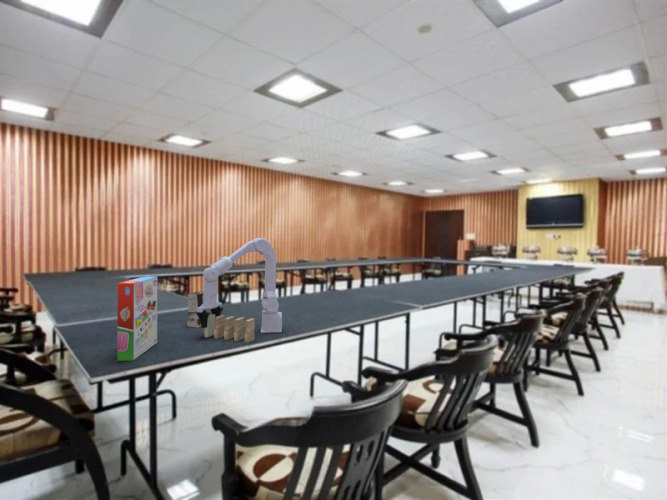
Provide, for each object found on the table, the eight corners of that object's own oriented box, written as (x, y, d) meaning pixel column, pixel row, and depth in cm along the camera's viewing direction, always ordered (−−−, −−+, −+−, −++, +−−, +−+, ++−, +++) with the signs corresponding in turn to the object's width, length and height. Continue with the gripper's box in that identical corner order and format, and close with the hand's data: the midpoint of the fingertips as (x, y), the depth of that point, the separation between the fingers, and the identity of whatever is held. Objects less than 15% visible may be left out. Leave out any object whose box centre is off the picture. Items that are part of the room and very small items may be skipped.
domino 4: (244, 338, 154) (244, 317, 154) (237, 341, 150) (237, 319, 150) (240, 337, 155) (241, 317, 155) (234, 340, 150) (234, 319, 150)
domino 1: (214, 334, 159) (215, 314, 159) (207, 337, 154) (207, 316, 154) (211, 334, 160) (212, 314, 159) (204, 336, 155) (204, 316, 155)
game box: (143, 343, 143) (144, 276, 142) (157, 343, 144) (158, 276, 143) (116, 361, 123) (117, 282, 122) (133, 361, 123) (133, 282, 122)
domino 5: (254, 339, 153) (254, 318, 153) (248, 342, 148) (248, 321, 148) (251, 339, 153) (251, 318, 153) (244, 342, 149) (245, 320, 148)
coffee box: (198, 327, 170) (199, 294, 170) (186, 326, 172) (187, 293, 171) (209, 323, 179) (209, 291, 179) (197, 322, 180) (198, 290, 180)
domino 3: (234, 336, 156) (234, 316, 156) (227, 339, 151) (227, 318, 151) (230, 336, 157) (231, 316, 156) (224, 339, 152) (224, 318, 152)
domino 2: (224, 335, 158) (224, 315, 157) (217, 338, 153) (217, 317, 153) (221, 335, 158) (221, 315, 158) (214, 338, 153) (214, 317, 153)
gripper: (212, 292, 165) (212, 321, 165) (191, 296, 151) (190, 328, 151) (226, 293, 162) (225, 322, 163) (205, 297, 149) (204, 330, 149)
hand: (209, 325), depth 157 cm, fingers open, 7 cm apart
